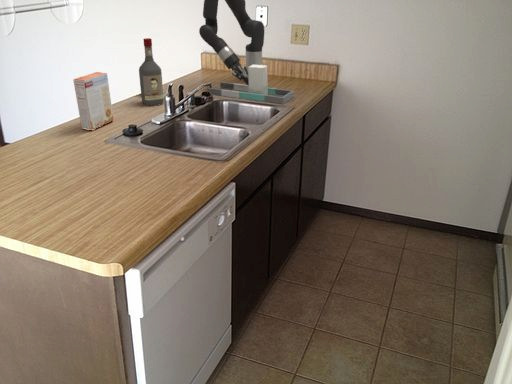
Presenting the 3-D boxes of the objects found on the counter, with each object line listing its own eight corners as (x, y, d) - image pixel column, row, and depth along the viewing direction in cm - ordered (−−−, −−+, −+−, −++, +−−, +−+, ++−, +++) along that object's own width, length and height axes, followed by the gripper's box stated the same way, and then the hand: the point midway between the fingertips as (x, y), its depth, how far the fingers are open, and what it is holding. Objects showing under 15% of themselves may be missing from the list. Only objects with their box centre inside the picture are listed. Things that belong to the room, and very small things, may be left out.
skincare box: (267, 96, 244) (268, 65, 237) (262, 99, 239) (263, 67, 232) (253, 94, 247) (253, 63, 240) (247, 97, 241) (248, 66, 235)
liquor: (140, 102, 230) (134, 38, 217) (158, 99, 235) (153, 36, 221) (146, 107, 223) (140, 41, 210) (165, 104, 228) (160, 39, 214)
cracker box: (102, 120, 205) (96, 71, 196) (114, 121, 203) (108, 72, 194) (80, 129, 193) (72, 78, 184) (92, 131, 191) (84, 79, 182)
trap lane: (221, 87, 259) (221, 81, 257) (294, 96, 244) (294, 90, 242) (207, 93, 246) (207, 88, 245) (283, 104, 231) (283, 98, 230)
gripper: (227, 54, 233) (249, 82, 234) (239, 50, 244) (260, 77, 245) (218, 64, 238) (239, 91, 239) (230, 60, 249) (250, 86, 250)
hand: (250, 84), depth 242 cm, fingers closed
